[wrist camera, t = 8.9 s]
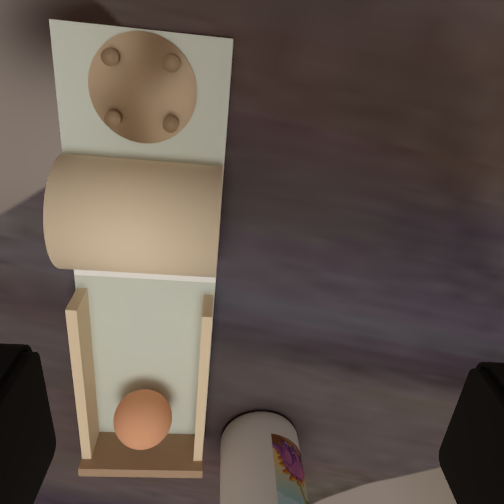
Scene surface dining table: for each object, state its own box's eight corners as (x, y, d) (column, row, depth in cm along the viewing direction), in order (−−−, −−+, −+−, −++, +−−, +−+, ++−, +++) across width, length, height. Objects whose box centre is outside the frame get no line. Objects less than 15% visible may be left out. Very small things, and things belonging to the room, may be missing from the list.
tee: (199, 37, 28) (198, 38, 27) (194, 146, 31) (193, 151, 30) (85, 24, 27) (80, 25, 26) (92, 137, 30) (88, 142, 29)
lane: (232, 36, 30) (235, 44, 23) (204, 417, 47) (201, 488, 40) (64, 18, 29) (14, 20, 22) (98, 414, 46) (75, 486, 39)
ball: (170, 410, 37) (167, 463, 38) (175, 379, 42) (173, 427, 43) (107, 408, 36) (106, 462, 37) (120, 377, 41) (119, 426, 42)
